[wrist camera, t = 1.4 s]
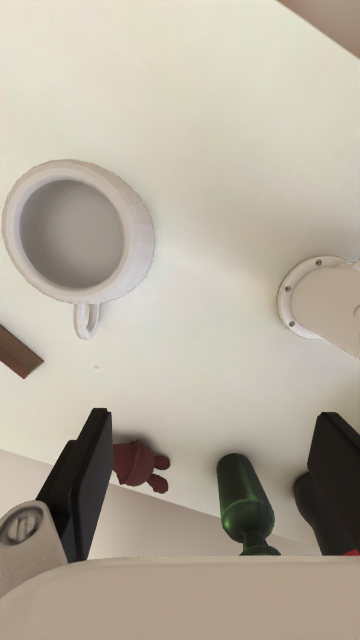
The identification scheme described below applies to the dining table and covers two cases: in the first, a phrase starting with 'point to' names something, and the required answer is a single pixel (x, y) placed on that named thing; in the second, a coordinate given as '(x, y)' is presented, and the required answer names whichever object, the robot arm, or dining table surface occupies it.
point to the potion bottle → (245, 506)
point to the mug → (78, 236)
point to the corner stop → (17, 354)
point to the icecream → (139, 466)
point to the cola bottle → (322, 519)
